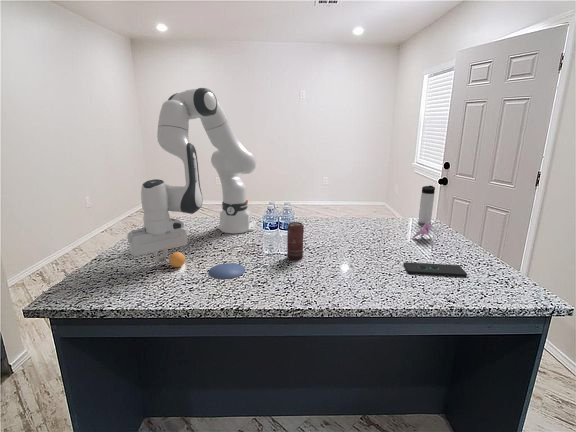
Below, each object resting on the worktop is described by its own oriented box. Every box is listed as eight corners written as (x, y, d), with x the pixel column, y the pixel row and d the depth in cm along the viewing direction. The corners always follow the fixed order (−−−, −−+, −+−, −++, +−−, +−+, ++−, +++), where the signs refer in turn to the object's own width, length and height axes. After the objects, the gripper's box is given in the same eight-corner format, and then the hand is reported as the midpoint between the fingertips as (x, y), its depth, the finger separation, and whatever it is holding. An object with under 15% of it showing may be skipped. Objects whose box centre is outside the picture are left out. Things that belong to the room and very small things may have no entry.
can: (302, 261, 130) (302, 226, 126) (285, 260, 131) (286, 225, 127) (304, 255, 136) (305, 222, 132) (289, 254, 137) (289, 221, 133)
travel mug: (432, 223, 181) (437, 186, 176) (427, 225, 176) (432, 188, 171) (421, 220, 185) (425, 184, 180) (416, 223, 181) (420, 186, 175)
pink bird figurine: (436, 239, 160) (428, 220, 161) (448, 237, 148) (440, 217, 149) (412, 247, 159) (405, 228, 160) (423, 246, 147) (415, 226, 148)
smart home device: (403, 261, 127) (459, 264, 125) (403, 265, 128) (458, 268, 126) (408, 270, 120) (467, 274, 117) (407, 275, 120) (467, 278, 118)
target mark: (216, 262, 128) (216, 261, 128) (249, 265, 126) (249, 264, 126) (202, 277, 116) (202, 276, 116) (238, 280, 114) (238, 280, 114)
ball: (174, 263, 127) (173, 249, 126) (188, 264, 126) (187, 250, 125) (167, 269, 122) (165, 254, 121) (181, 270, 121) (180, 256, 120)
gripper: (129, 233, 113) (134, 271, 117) (187, 222, 125) (190, 257, 129) (124, 228, 117) (129, 265, 121) (181, 218, 130) (184, 252, 134)
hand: (161, 261), depth 125 cm, fingers closed
